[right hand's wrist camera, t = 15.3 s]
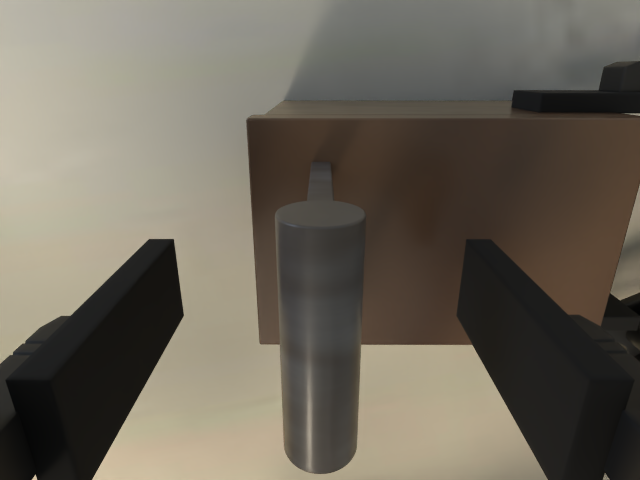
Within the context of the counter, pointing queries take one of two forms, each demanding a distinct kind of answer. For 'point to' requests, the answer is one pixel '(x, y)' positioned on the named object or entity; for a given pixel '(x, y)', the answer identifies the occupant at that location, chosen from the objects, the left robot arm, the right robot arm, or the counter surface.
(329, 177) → the lid
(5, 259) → the counter surface
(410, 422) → the counter surface
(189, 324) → the counter surface
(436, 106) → the chest
